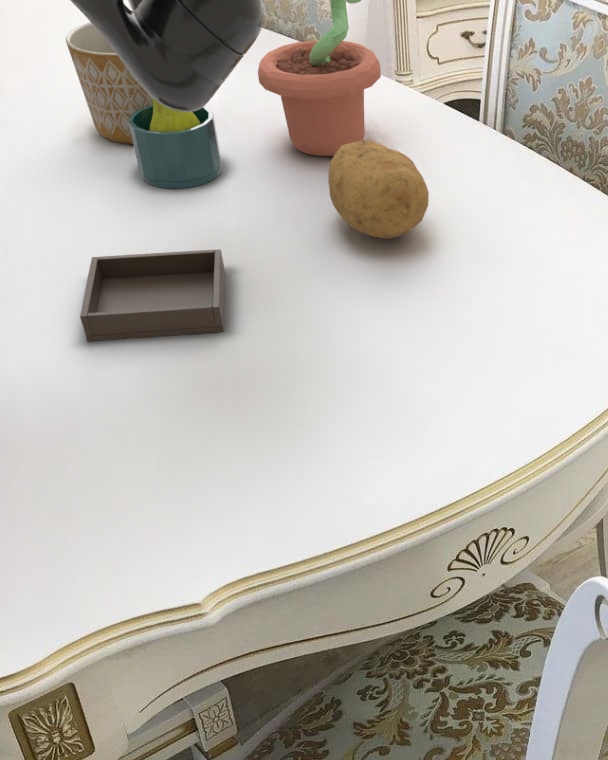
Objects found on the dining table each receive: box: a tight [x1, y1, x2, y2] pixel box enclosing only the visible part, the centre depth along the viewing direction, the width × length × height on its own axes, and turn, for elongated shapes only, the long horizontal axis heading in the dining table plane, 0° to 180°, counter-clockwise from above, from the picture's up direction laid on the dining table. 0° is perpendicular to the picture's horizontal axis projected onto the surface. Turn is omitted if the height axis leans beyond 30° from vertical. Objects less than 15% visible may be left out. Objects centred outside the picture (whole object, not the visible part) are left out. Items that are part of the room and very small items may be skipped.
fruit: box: [149, 99, 201, 132], centre depth 121 cm, size 6×6×12 cm
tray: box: [79, 248, 226, 342], centre depth 104 cm, size 12×11×2 cm
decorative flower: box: [257, 0, 382, 157], centre depth 121 cm, size 15×14×30 cm
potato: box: [327, 140, 430, 240], centre depth 114 cm, size 10×14×8 cm
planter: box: [65, 21, 153, 145], centre depth 130 cm, size 13×13×10 cm
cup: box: [128, 104, 223, 190], centre depth 124 cm, size 9×9×6 cm
